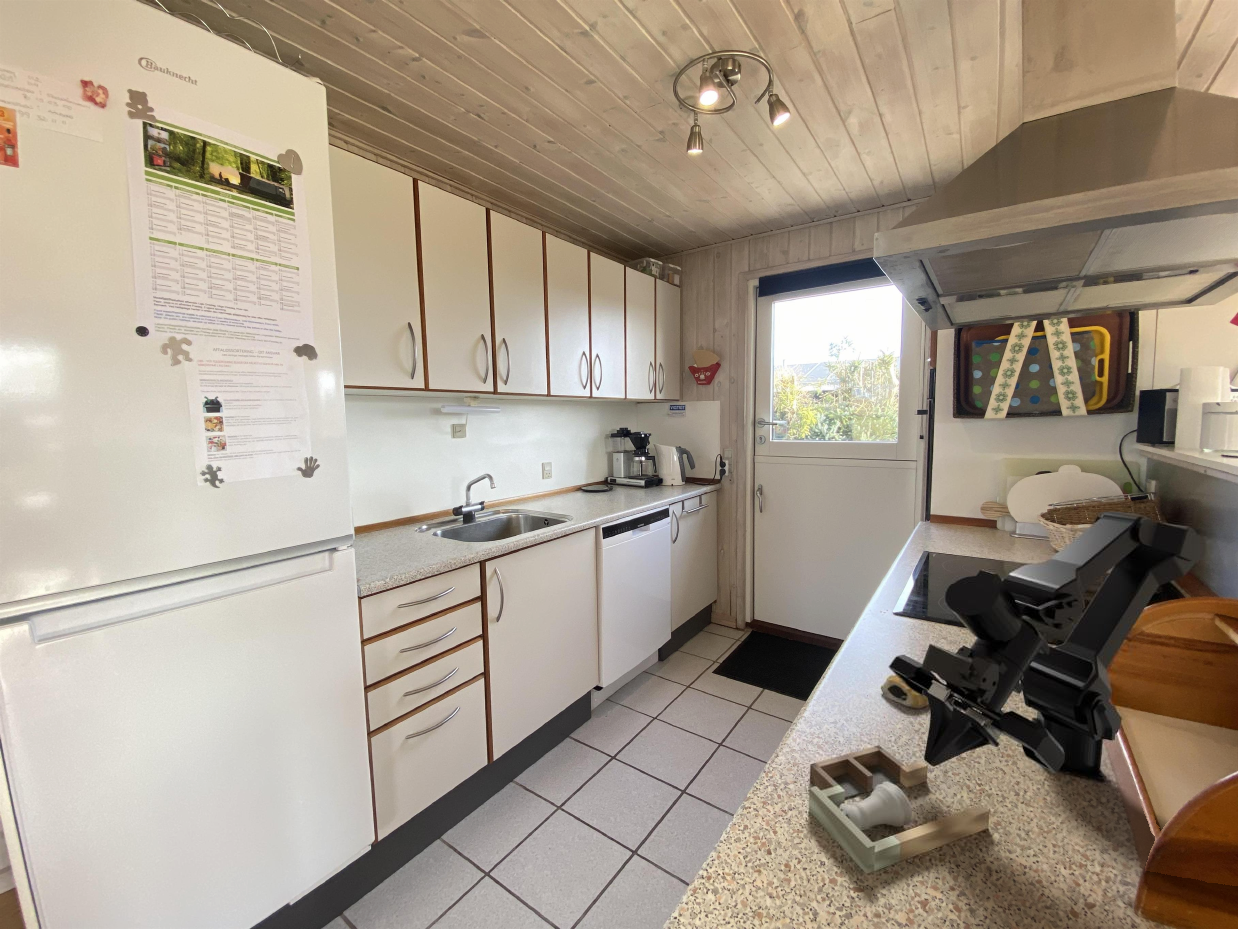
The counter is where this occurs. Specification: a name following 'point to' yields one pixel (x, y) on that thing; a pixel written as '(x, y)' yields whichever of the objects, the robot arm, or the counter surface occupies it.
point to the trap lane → (863, 776)
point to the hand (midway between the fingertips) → (928, 763)
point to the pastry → (902, 693)
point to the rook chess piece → (880, 808)
